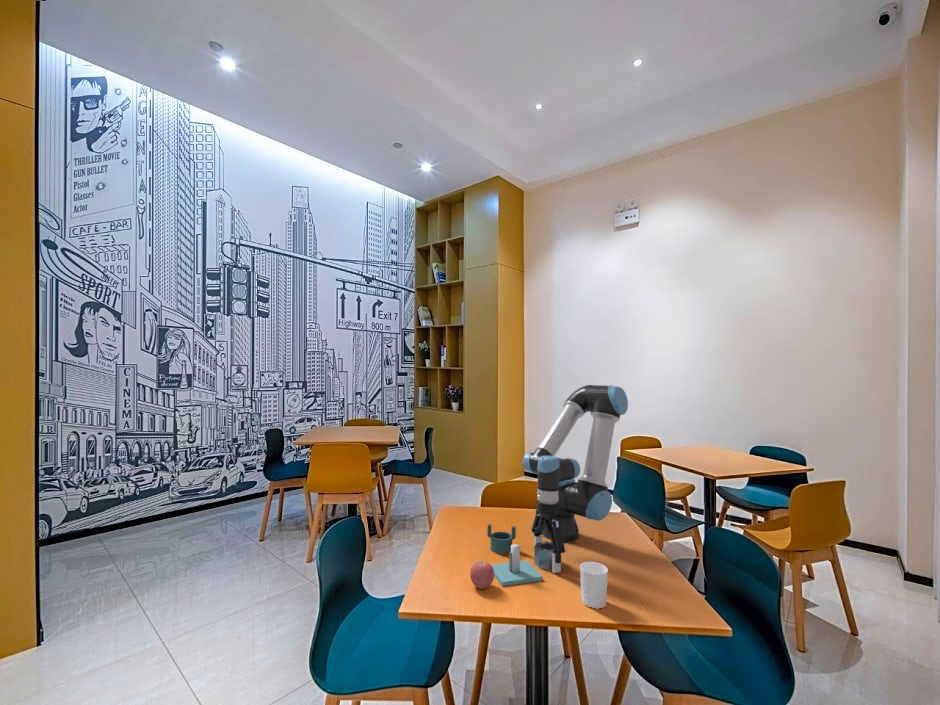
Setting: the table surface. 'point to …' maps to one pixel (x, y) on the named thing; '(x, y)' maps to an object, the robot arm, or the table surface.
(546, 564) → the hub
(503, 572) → the stand
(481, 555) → the table surface
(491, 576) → the apple
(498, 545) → the bracket
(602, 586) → the white cup
